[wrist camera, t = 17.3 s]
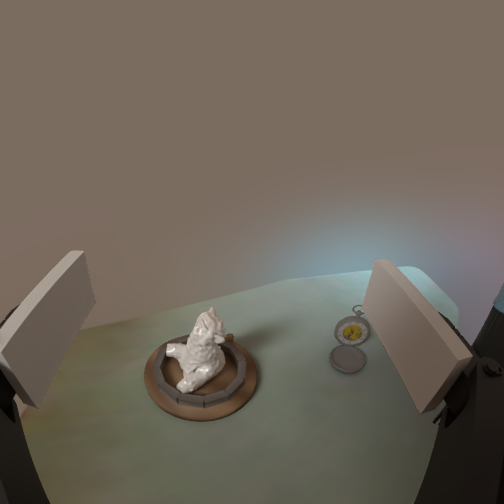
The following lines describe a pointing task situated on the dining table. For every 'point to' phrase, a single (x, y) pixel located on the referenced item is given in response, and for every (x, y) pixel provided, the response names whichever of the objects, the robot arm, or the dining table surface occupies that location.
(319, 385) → the dining table surface
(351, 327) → the pocket watch
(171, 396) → the brown wooden disc
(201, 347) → the seated beast figurine
